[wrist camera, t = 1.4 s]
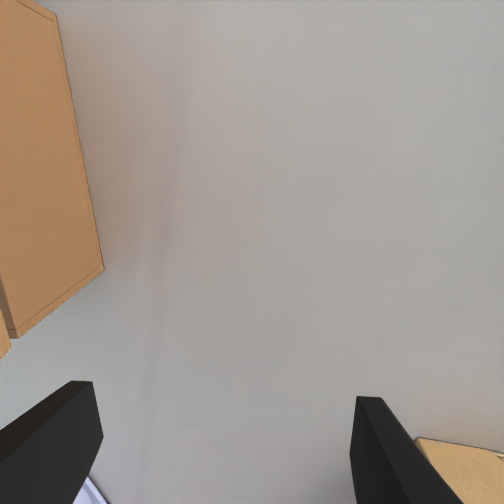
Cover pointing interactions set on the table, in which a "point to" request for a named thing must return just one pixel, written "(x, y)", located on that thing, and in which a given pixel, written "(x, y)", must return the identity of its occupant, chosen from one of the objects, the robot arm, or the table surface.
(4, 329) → the flap
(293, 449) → the table surface
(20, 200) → the carton
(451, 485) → the sandwich container
